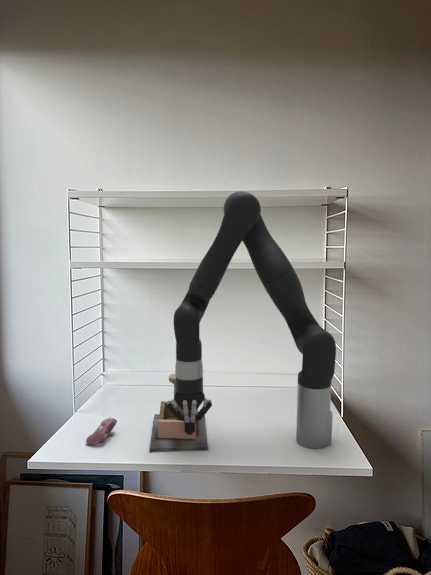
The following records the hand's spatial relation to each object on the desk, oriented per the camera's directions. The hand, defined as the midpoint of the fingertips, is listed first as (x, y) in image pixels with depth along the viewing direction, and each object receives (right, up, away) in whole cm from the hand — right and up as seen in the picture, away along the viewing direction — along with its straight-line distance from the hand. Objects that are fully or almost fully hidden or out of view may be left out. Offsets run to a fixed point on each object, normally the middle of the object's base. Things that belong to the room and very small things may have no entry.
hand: (190, 433), depth 134 cm
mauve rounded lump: (-26, -3, +5) cm, 26 cm away
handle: (-4, -1, +12) cm, 12 cm away
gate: (-5, -2, +2) cm, 5 cm away
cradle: (-4, -2, +8) cm, 9 cm away
